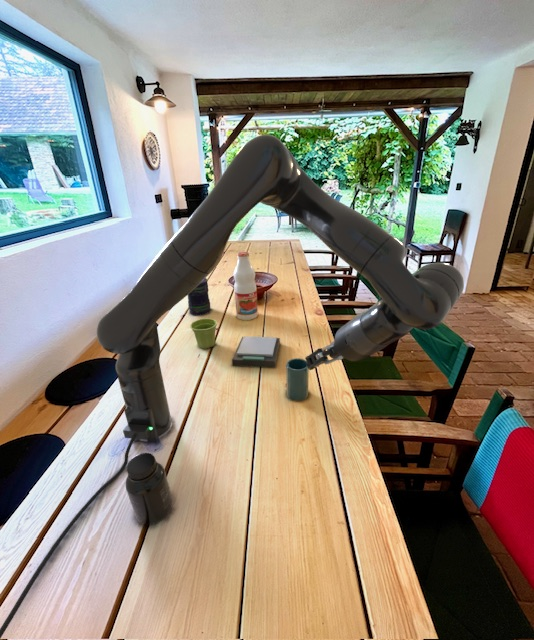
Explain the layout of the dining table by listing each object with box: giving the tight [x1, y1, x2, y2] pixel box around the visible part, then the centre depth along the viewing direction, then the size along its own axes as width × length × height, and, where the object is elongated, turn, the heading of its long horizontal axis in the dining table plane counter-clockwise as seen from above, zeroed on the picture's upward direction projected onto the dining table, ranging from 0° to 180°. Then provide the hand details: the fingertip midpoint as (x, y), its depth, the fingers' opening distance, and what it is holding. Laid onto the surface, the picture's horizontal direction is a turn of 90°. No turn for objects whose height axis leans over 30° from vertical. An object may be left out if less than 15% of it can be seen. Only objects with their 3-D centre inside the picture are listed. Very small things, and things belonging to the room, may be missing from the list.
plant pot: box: [190, 318, 218, 350], centre depth 117 cm, size 9×9×9 cm
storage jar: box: [187, 277, 212, 317], centre depth 146 cm, size 10×10×15 cm
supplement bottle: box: [125, 452, 173, 526], centre depth 58 cm, size 7×7×12 cm
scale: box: [231, 336, 281, 369], centre depth 111 cm, size 16×14×3 cm
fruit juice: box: [232, 251, 259, 321], centre depth 136 cm, size 9×9×28 cm
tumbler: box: [285, 357, 310, 402], centre depth 88 cm, size 6×6×10 cm
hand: (324, 360), depth 74 cm, fingers open, 8 cm apart
